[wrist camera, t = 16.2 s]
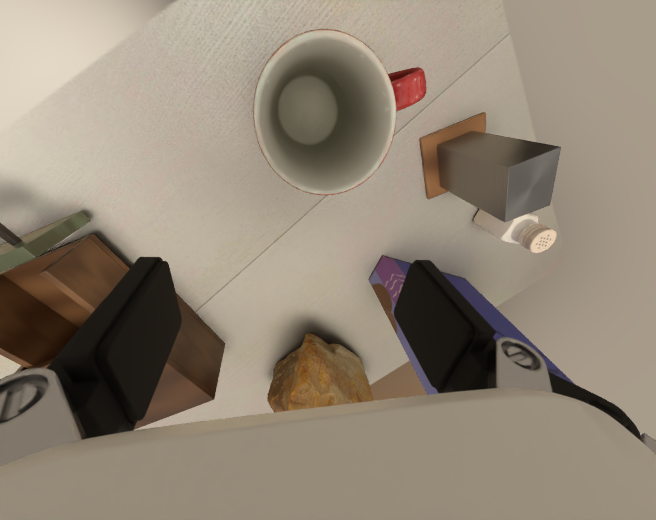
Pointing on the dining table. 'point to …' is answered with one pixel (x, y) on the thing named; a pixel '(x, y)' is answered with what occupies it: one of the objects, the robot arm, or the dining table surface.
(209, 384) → the cabinet
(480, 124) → the plate
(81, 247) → the drawer
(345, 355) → the rough brown rock
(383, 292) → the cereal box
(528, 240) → the pepper shaker
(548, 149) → the metal block
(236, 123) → the dining table surface
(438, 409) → the robot arm
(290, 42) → the mug
